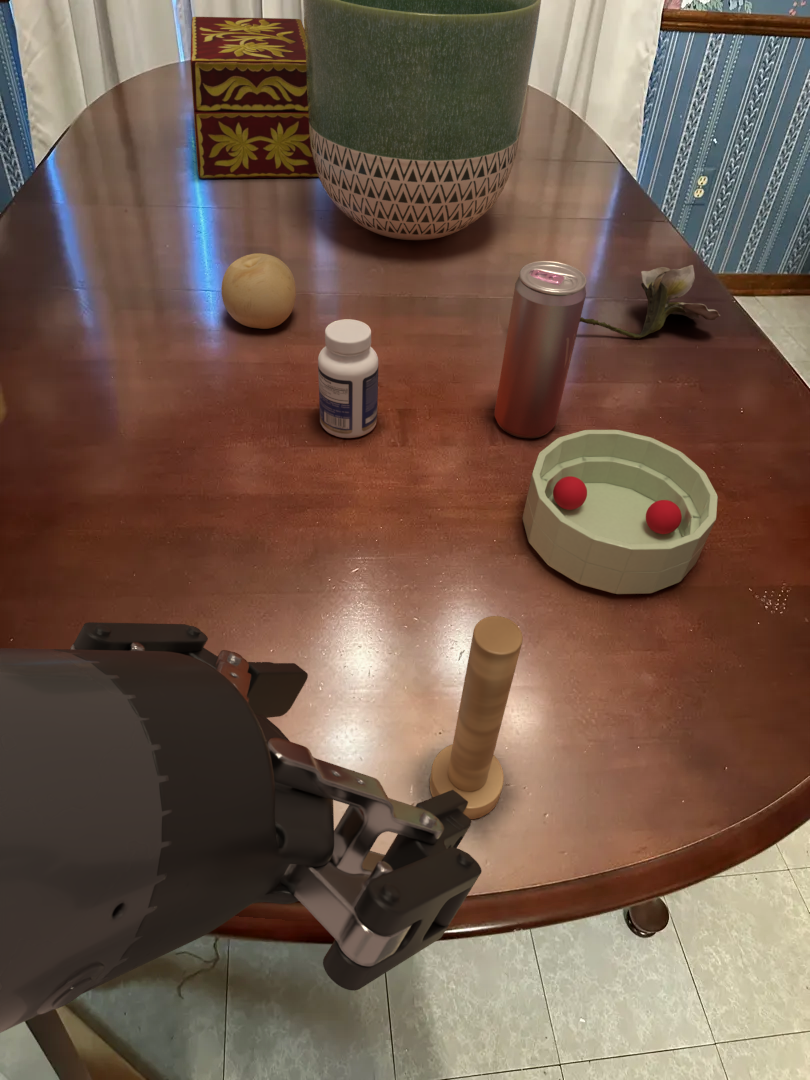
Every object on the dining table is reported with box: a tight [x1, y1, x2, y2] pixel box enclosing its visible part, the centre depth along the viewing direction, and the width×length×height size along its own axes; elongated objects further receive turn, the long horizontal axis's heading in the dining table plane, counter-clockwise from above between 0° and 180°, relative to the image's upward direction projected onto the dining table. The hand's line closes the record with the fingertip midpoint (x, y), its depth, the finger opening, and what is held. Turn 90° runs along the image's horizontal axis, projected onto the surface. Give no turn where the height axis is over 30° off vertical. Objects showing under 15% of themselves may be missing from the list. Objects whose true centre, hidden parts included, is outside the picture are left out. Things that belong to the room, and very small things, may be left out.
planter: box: [302, 0, 542, 241], centre depth 97 cm, size 27×27×27 cm
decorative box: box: [190, 16, 319, 180], centre depth 120 cm, size 28×19×15 cm
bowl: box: [522, 429, 719, 595], centre depth 63 cm, size 14×14×6 cm
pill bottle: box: [317, 318, 379, 439], centre depth 71 cm, size 5×5×10 cm
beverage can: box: [493, 260, 587, 440], centre depth 71 cm, size 6×6×15 cm
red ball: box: [553, 476, 587, 510], centre depth 66 cm, size 3×3×3 cm
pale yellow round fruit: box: [220, 252, 297, 330], centre depth 85 cm, size 8×8×8 cm
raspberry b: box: [646, 500, 682, 534], centre depth 64 cm, size 3×3×3 cm
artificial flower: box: [579, 264, 721, 339], centre depth 87 cm, size 9×22×10 cm, turn 98°
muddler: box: [429, 615, 524, 820], centre depth 43 cm, size 4×4×15 cm
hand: (366, 749), depth 32 cm, fingers open, 8 cm apart
